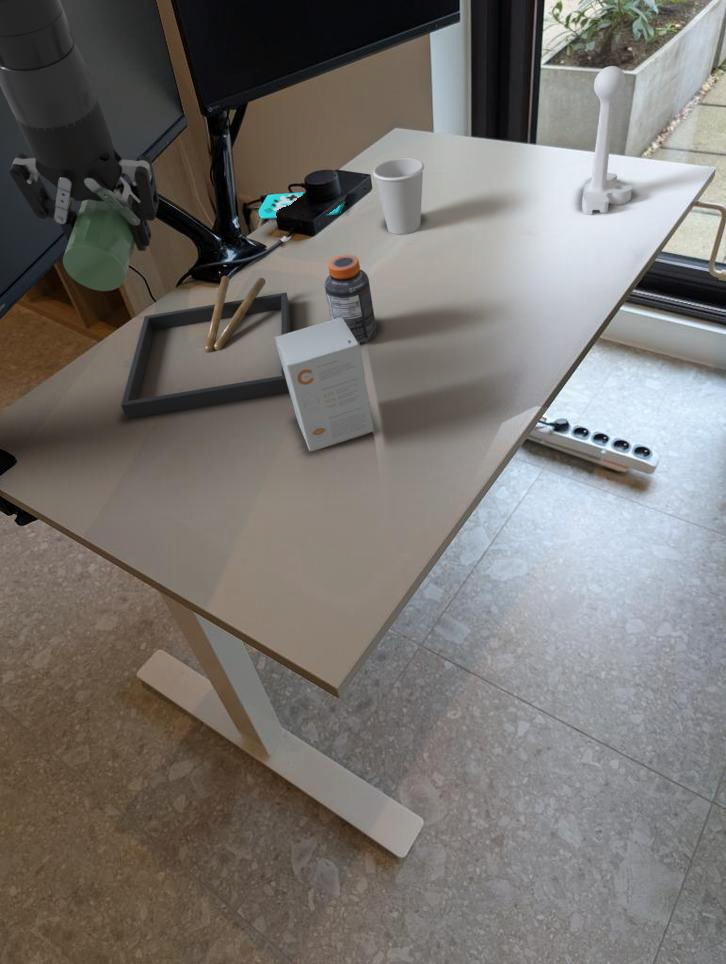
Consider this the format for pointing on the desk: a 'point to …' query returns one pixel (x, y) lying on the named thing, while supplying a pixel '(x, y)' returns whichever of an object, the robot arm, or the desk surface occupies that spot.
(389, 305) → the desk surface
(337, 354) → the small box
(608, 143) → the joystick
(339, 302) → the pill bottle
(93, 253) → the green cup
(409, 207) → the dixie cup
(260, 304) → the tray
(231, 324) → the stick
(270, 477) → the desk surface
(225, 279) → the stick
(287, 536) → the desk surface
